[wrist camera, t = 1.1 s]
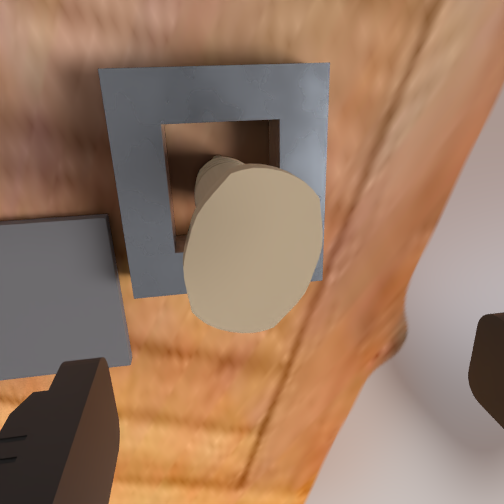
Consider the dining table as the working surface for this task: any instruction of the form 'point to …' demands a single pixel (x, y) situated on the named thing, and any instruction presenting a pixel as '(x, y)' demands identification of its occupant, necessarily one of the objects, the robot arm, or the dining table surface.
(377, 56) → the dining table surface
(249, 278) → the handle
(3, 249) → the mat
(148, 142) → the holder
